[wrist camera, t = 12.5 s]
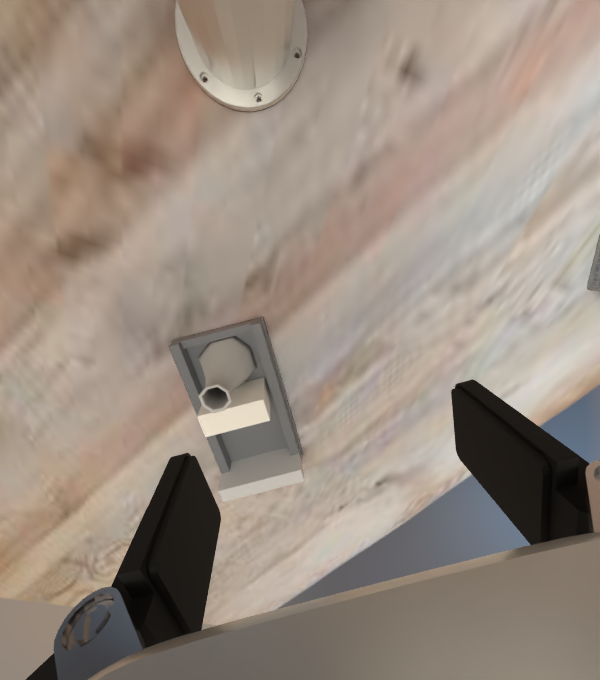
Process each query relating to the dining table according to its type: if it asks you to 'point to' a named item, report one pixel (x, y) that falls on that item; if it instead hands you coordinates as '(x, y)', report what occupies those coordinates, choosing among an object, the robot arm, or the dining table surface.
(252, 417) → the pusher
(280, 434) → the grey rectangular tray
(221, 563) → the dining table surface
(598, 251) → the soda pack
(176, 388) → the dining table surface
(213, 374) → the flask
